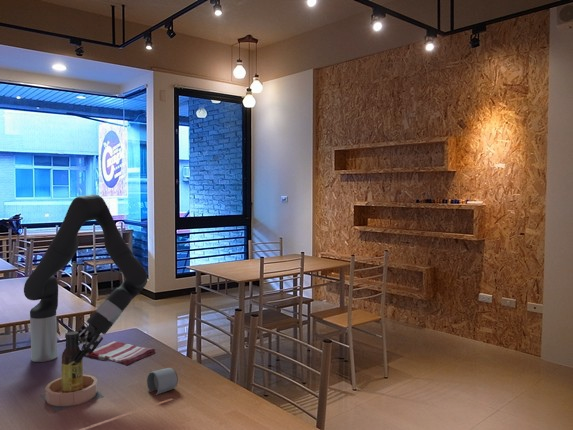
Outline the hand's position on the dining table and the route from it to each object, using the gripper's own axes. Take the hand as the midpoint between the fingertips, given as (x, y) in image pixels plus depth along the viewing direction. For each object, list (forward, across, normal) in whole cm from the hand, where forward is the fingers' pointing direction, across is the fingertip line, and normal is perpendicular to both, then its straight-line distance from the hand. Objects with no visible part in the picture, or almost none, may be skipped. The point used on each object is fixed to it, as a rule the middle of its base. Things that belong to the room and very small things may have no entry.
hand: (70, 358), depth 153 cm
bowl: (+9, 0, +9) cm, 13 cm away
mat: (+9, 0, +10) cm, 13 cm away
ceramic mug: (-8, +14, +27) cm, 31 cm away
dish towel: (-10, -28, +30) cm, 42 cm away
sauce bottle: (+8, 0, +9) cm, 12 cm away
